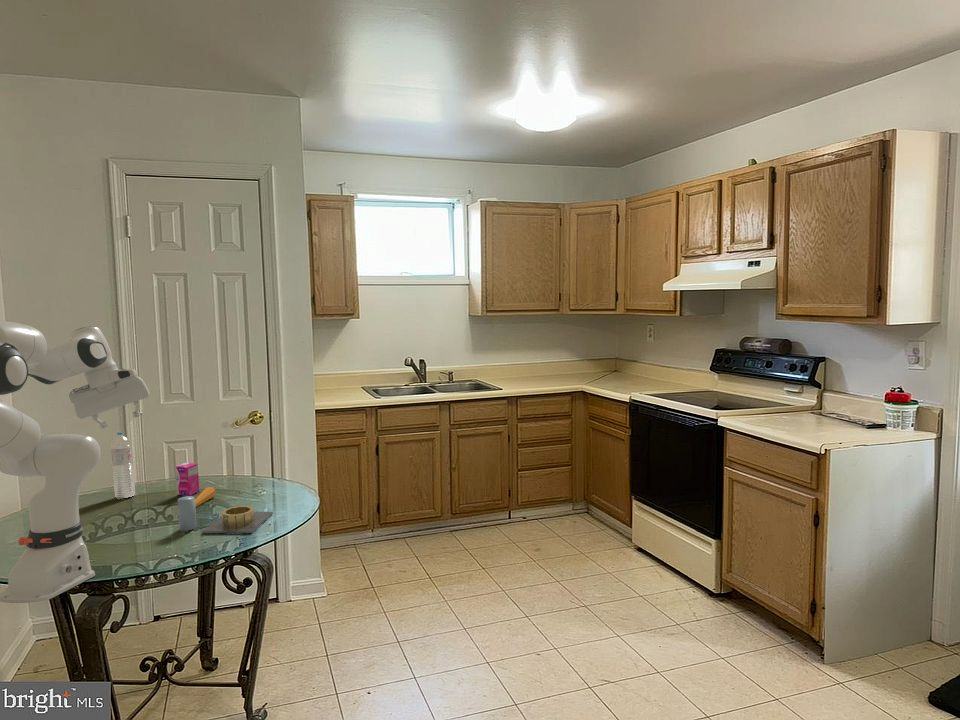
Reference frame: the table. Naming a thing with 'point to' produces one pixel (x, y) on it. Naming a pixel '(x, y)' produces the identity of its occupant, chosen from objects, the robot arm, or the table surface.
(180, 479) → the supplement box
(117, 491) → the water bottle
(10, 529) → the table surface
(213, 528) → the mounting plate
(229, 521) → the brass socket
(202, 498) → the carrot
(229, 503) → the table surface
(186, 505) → the grey capsule peg
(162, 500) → the table surface
